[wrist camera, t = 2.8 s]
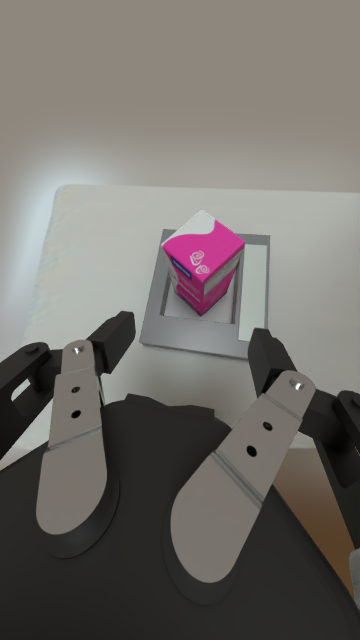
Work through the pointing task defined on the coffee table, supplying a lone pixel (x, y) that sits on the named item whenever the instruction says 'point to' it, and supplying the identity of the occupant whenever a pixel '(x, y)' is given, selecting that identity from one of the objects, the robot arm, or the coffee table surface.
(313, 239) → the coffee table surface
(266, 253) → the divided tray
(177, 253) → the supplement box
